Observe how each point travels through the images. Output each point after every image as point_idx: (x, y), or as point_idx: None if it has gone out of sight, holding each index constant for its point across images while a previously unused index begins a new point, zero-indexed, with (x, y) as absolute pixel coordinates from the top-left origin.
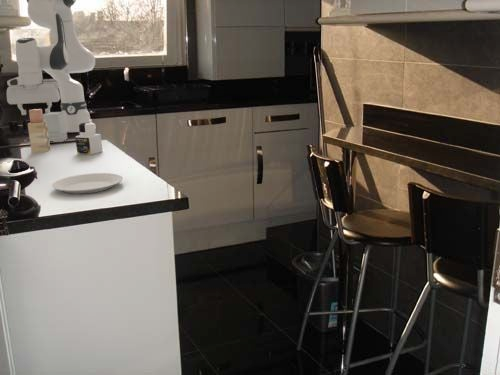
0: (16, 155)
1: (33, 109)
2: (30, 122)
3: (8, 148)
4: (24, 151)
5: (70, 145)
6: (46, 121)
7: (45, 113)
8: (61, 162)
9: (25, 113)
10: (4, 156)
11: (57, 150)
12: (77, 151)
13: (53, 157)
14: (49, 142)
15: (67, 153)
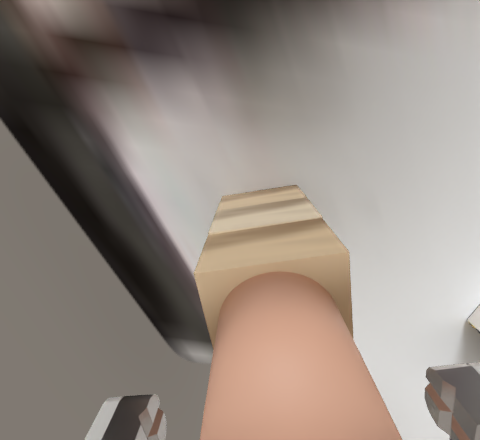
0: (190, 306)
1: (234, 416)
2: (214, 328)
3: (29, 128)
4: (179, 226)
5: (387, 85)
6: (346, 251)
7: (428, 408)
8: (424, 429)
9: (159, 435)
10: (147, 317)
11: (348, 226)
12: (477, 330)
13: (373, 360)
14: (303, 193)
15: (416, 299)
